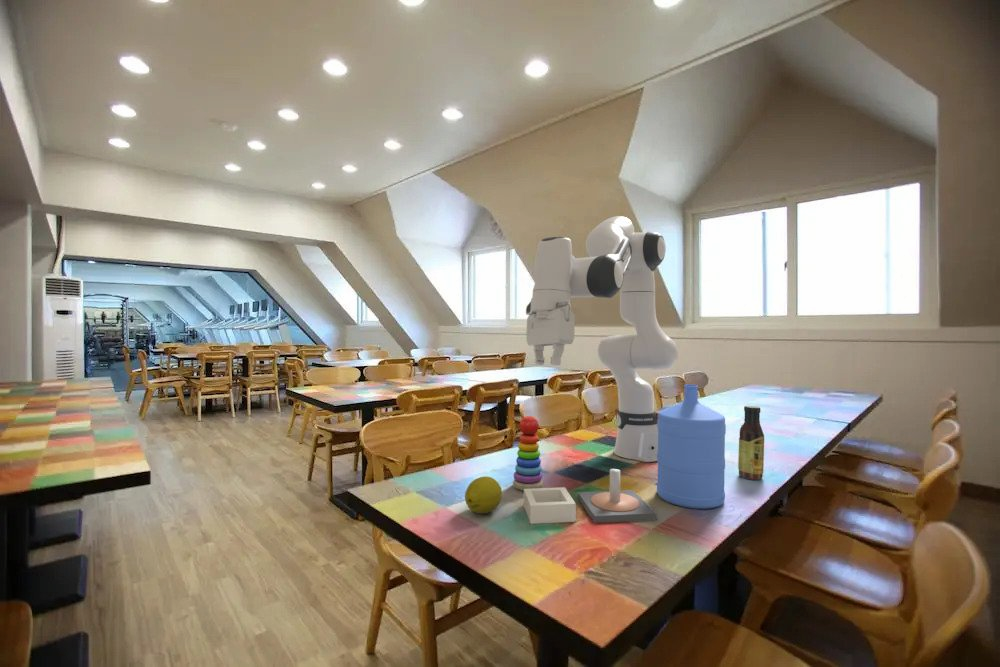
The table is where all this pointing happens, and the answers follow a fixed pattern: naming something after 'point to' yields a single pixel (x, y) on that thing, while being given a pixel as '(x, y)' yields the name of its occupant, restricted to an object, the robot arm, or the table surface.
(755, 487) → the table surface
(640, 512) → the rod stand
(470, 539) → the table surface
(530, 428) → the stacking toy
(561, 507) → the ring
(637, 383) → the robot arm
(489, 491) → the lemon
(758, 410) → the sauce bottle
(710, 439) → the water jug
